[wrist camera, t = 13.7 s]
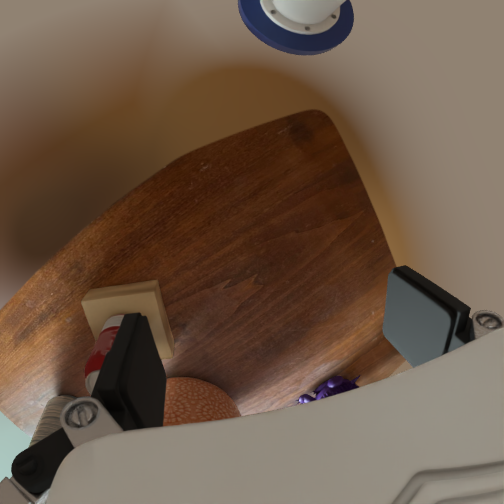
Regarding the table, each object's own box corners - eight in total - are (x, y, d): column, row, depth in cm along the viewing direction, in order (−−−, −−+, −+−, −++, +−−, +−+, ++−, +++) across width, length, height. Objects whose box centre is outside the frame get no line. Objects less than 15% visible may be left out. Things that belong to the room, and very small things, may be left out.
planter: (144, 342, 44) (124, 436, 26) (261, 377, 49) (288, 465, 32) (120, 417, 48) (106, 496, 30) (217, 442, 54) (227, 517, 36)
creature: (271, 409, 53) (286, 457, 41) (349, 357, 51) (379, 400, 40) (293, 426, 56) (309, 470, 44) (365, 379, 54) (393, 419, 43)
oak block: (89, 289, 40) (80, 301, 36) (157, 279, 41) (154, 291, 37) (111, 349, 43) (105, 364, 40) (174, 342, 45) (173, 358, 41)
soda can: (99, 311, 37) (71, 365, 26) (145, 309, 38) (129, 367, 27) (111, 351, 39) (91, 409, 28) (154, 350, 40) (144, 411, 29)
